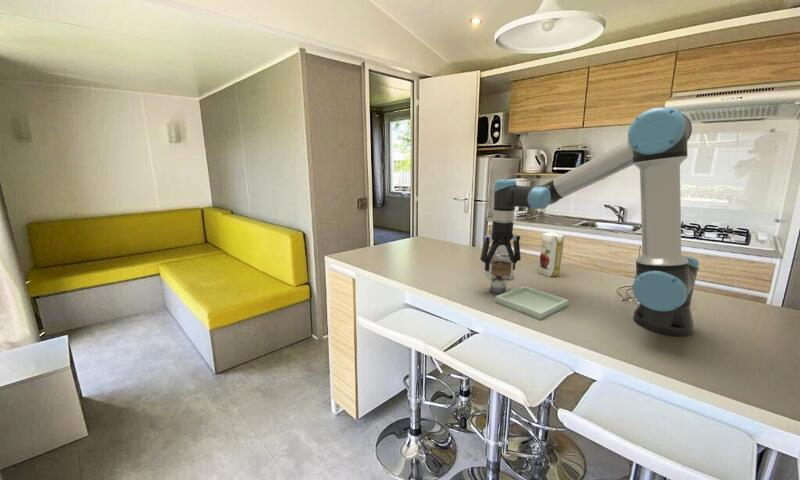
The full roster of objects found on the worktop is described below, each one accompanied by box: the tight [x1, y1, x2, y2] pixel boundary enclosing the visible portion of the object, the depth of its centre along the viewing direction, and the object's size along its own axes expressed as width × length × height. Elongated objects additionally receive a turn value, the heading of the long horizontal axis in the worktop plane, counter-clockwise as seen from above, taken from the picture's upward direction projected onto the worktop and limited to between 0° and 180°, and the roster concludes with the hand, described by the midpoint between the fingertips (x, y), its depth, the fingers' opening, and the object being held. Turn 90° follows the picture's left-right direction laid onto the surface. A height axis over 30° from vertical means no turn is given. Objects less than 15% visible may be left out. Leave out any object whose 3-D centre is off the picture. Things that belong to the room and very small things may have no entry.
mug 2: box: [491, 250, 514, 281], centre depth 152 cm, size 8×12×12 cm, turn 39°
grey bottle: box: [489, 263, 508, 296], centre depth 133 cm, size 6×6×12 cm
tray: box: [494, 285, 570, 321], centre depth 123 cm, size 18×18×2 cm
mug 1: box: [489, 240, 508, 260], centre depth 174 cm, size 13×9×10 cm
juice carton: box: [538, 231, 566, 278], centre depth 154 cm, size 8×9×19 cm
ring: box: [490, 259, 511, 276], centre depth 133 cm, size 10×8×4 cm
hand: (499, 278), depth 133 cm, fingers closed on ring, 8 cm apart
